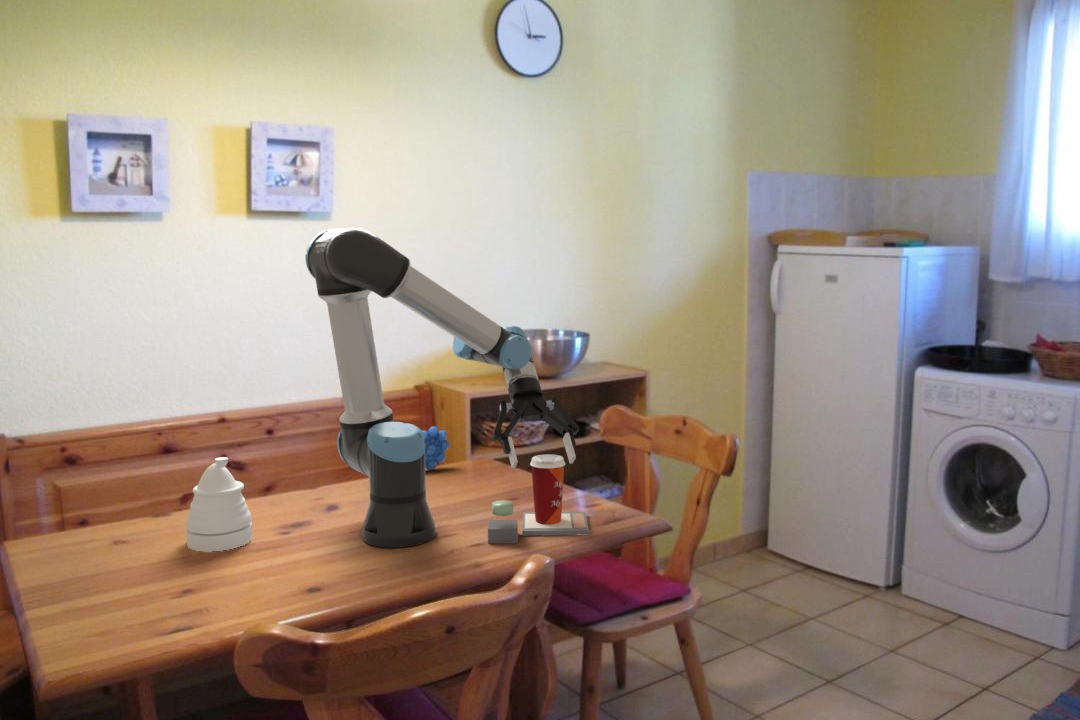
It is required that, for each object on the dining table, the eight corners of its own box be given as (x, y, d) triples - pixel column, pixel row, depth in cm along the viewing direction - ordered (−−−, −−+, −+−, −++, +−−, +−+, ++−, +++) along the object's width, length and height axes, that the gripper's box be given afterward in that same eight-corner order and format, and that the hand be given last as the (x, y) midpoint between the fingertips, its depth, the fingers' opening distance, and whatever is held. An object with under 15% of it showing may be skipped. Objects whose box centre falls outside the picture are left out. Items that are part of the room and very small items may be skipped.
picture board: (522, 535, 190) (522, 530, 190) (523, 516, 203) (523, 511, 203) (588, 534, 190) (588, 529, 190) (585, 516, 203) (585, 511, 203)
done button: (491, 516, 186) (491, 506, 185) (492, 509, 190) (492, 500, 190) (513, 515, 186) (513, 506, 185) (513, 509, 190) (513, 500, 190)
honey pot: (265, 538, 190) (261, 454, 187) (213, 556, 179) (208, 468, 177) (226, 528, 197) (221, 447, 194) (174, 544, 186) (168, 459, 184)
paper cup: (566, 526, 193) (565, 462, 191) (530, 526, 193) (529, 462, 191) (565, 514, 200) (565, 453, 198) (531, 515, 200) (530, 453, 199)
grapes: (442, 464, 251) (441, 421, 249) (453, 469, 245) (452, 425, 243) (404, 470, 245) (402, 426, 243) (414, 475, 239) (413, 431, 237)
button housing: (488, 543, 185) (487, 529, 185) (489, 533, 191) (489, 520, 191) (517, 542, 186) (517, 528, 185) (517, 533, 191) (517, 519, 191)
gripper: (568, 391, 218) (591, 467, 206) (468, 396, 210) (486, 476, 198) (577, 372, 212) (601, 449, 201) (474, 378, 204) (493, 458, 192)
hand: (544, 463), depth 199 cm, fingers open, 13 cm apart
